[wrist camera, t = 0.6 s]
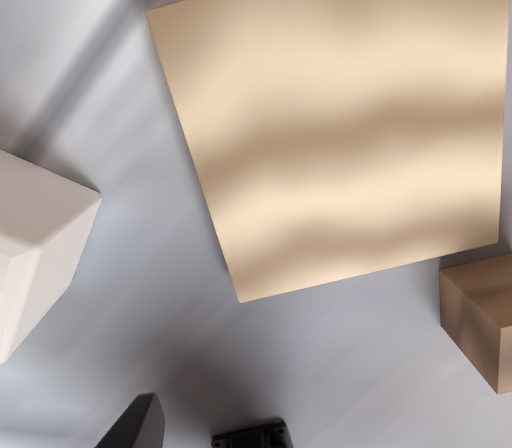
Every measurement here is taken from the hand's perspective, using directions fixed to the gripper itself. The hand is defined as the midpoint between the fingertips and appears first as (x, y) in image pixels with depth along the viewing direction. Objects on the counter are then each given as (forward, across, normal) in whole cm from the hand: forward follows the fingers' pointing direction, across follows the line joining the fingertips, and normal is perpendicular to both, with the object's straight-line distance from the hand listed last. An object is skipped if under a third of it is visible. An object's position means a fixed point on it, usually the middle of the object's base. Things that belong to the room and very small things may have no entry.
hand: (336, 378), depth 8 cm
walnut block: (+14, -13, +9) cm, 21 cm away
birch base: (+13, -4, -4) cm, 14 cm away
